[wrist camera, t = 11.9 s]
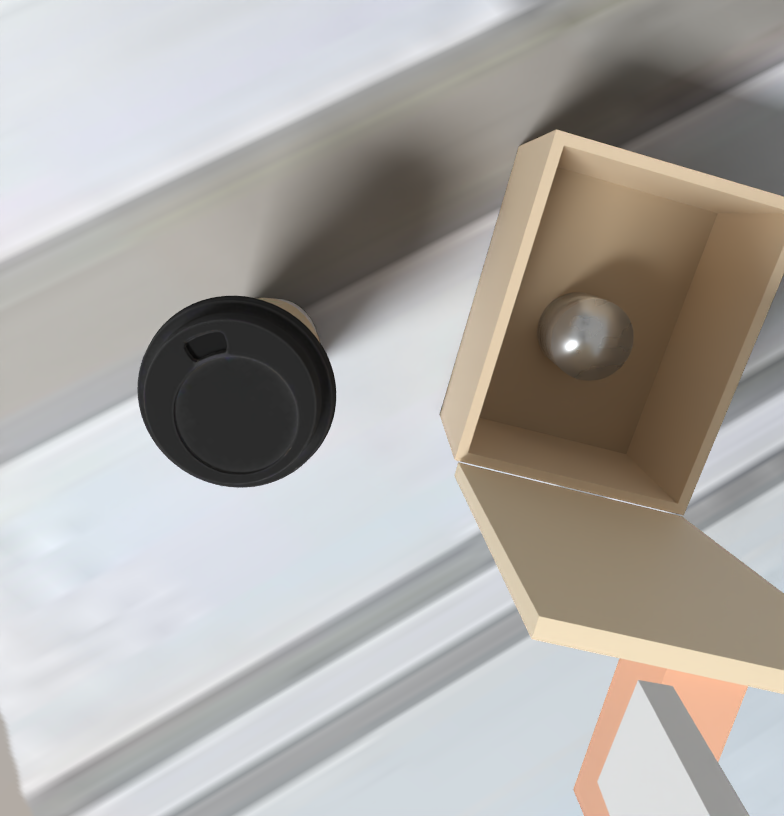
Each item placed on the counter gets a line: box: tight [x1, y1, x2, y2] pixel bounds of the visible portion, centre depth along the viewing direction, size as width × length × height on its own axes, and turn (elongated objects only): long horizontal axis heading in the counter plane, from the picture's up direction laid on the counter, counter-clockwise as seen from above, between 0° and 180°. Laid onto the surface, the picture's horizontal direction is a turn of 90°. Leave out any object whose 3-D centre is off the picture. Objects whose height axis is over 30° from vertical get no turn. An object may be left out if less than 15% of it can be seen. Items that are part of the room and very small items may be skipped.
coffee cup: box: [138, 296, 336, 487], centre depth 38 cm, size 9×9×15 cm
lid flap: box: [455, 463, 784, 816], centre depth 31 cm, size 17×14×9 cm
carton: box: [440, 130, 784, 515], centre depth 41 cm, size 18×14×9 cm
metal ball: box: [537, 292, 634, 381], centre depth 43 cm, size 5×5×4 cm
